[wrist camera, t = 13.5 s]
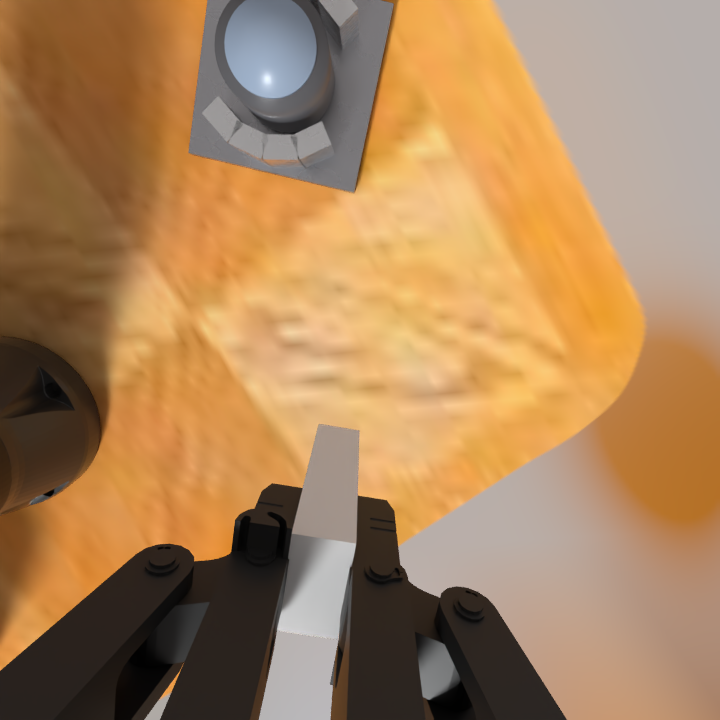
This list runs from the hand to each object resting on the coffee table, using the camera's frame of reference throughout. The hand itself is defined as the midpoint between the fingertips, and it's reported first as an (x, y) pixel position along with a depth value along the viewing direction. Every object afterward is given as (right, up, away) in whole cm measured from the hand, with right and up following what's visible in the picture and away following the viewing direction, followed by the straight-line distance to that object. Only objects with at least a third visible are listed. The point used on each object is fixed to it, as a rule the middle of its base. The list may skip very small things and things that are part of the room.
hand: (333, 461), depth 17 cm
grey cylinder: (-4, +24, +17) cm, 30 cm away
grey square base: (-4, +25, +18) cm, 31 cm away
